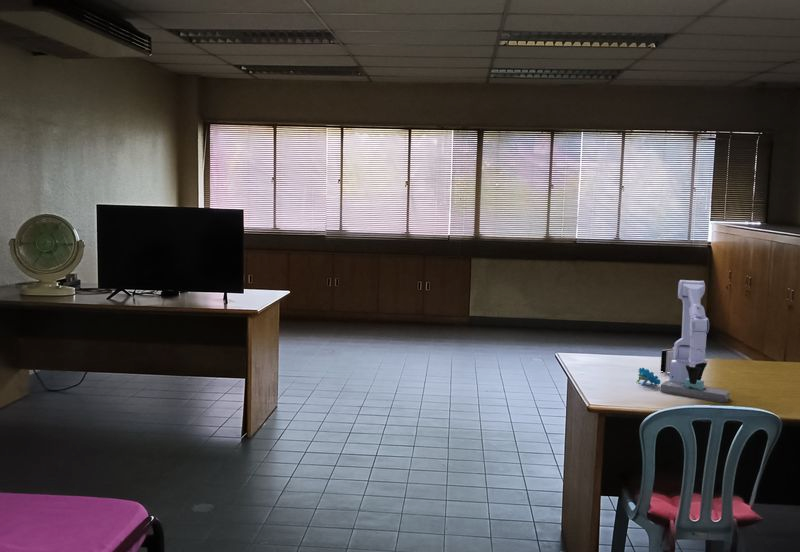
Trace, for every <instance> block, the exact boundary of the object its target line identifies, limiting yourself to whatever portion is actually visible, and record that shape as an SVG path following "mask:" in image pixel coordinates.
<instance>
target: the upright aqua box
mask: <svg viewBox="0 0 800 552" xmlns="http://www.w3.org/2000/svg"><path fill="white" fill-rule="evenodd" d="M684 384H685V387H686V388H690V387H696V388H698V390H704V387H705V386H704V385H705V381H704V380H702V379H701V380H697V382H696V384H690V381H689V379H688V378H687V379H686V380H685V383H684Z"/></svg>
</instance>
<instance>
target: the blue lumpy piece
mask: <svg viewBox="0 0 800 552" xmlns="http://www.w3.org/2000/svg"><path fill="white" fill-rule="evenodd" d="M654 374H655V373H654V372H653V371H651V372H650V370H649V369H648V368H646V369H645V368H644V367H642V368H641V367H639V368H638V374H637V376H638V379H637V380H636V383H637V382H638V383H639V382H640V381H643V382H642V383H641V385H642V386H643V385H644V386H645V385H646V384H647V382H648V381H649V383H650V384H652V383H653V384H654V385H655V384H656V386H658V385H661V379H659V376H657V375H654Z"/></svg>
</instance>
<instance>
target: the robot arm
mask: <svg viewBox="0 0 800 552" xmlns="http://www.w3.org/2000/svg"><path fill="white" fill-rule="evenodd" d="M705 291H706V284H705V281H704V280H686V279H680V280H679V281H678V287H677V299H679V300H681V302H682V316H681V318H682V321H681V322H682V323H681V338H679V339H678V340H676V341H675V342H674V343H673V345H674V346H673V347H674V351H673V356H674V359H675V360H672V361H671V365H670V373H669V379H668V381H671V382H677V383H683V384H685V380H686V379H687V378H688V379H689V381H690V384H696V382H697V380H701V381H702V377H703V373H704V371H705V368H707V365H708V363H709V362H708V360H707V359H706V348H707V334H708V333H709V330H710V321H709V318H708V317H707V316H706V311H705V307H704V306H703V305H702V304H701V303H702V302H701V299H702V298H703V297H704V295H705Z"/></svg>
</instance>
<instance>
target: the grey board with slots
mask: <svg viewBox="0 0 800 552" xmlns="http://www.w3.org/2000/svg"><path fill="white" fill-rule="evenodd" d="M661 391H662V392H661ZM660 392H661V393H665V392H666V393H667V394H671V393H672V395H677V396H682V397H689V398H696V399H700V400H701V399H702V400H707V401H712V402H718V403H724V404H725V403H726V402H727V401H728V400H729V399H730V392H731V391H730V390H724V389H721V388H719V389H718V388H713V387H707V386H706V387H705V386H704V390H698V388H696V387H690V388H686V387H685V383H679V382H673V381H669V380H666V381H664V382H662V383H660Z"/></svg>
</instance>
